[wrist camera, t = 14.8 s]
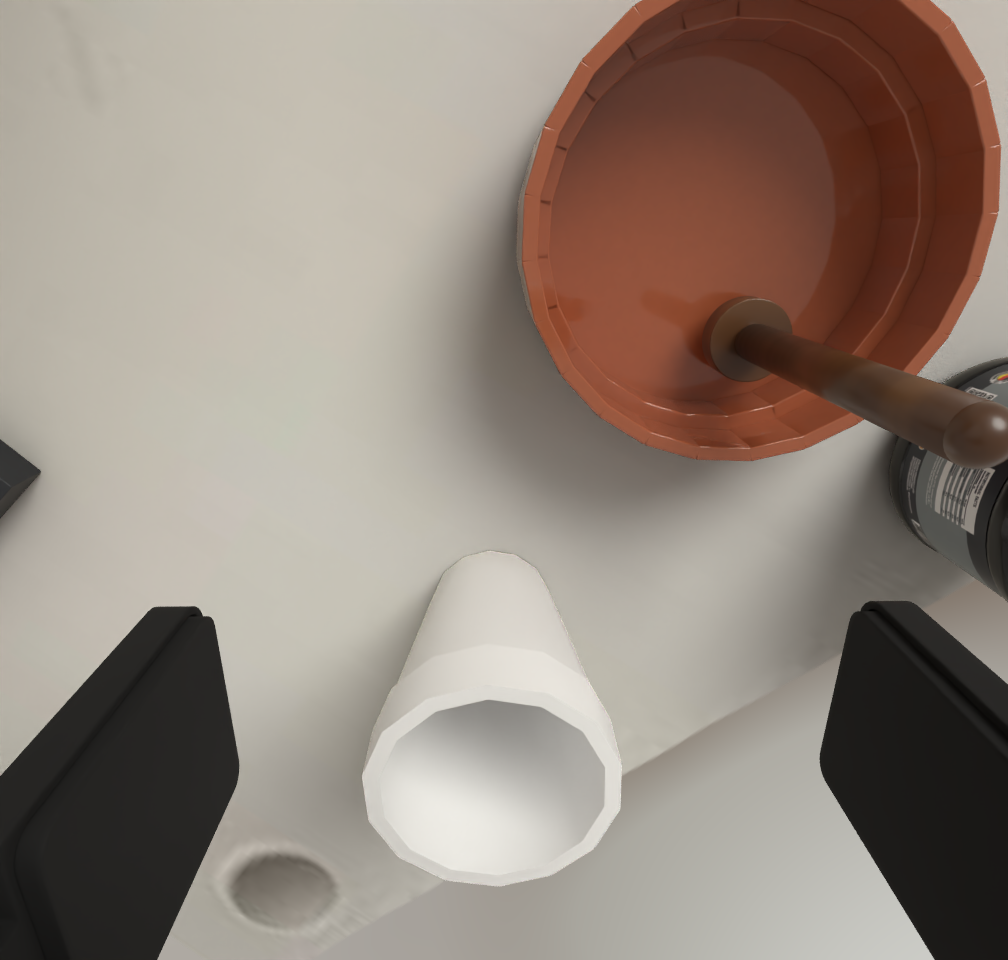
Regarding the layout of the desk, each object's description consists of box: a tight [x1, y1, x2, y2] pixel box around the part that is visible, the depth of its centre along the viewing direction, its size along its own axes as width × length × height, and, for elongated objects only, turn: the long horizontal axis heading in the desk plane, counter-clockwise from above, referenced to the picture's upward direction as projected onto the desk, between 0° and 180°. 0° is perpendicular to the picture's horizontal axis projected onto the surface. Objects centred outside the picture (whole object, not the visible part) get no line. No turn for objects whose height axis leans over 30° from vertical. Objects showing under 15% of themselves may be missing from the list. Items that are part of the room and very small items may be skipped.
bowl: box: [516, 0, 1001, 461], centre depth 27 cm, size 17×17×6 cm
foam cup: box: [362, 551, 622, 887], centre depth 30 cm, size 10×9×13 cm
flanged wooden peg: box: [702, 296, 1008, 469], centre depth 22 cm, size 4×4×16 cm
